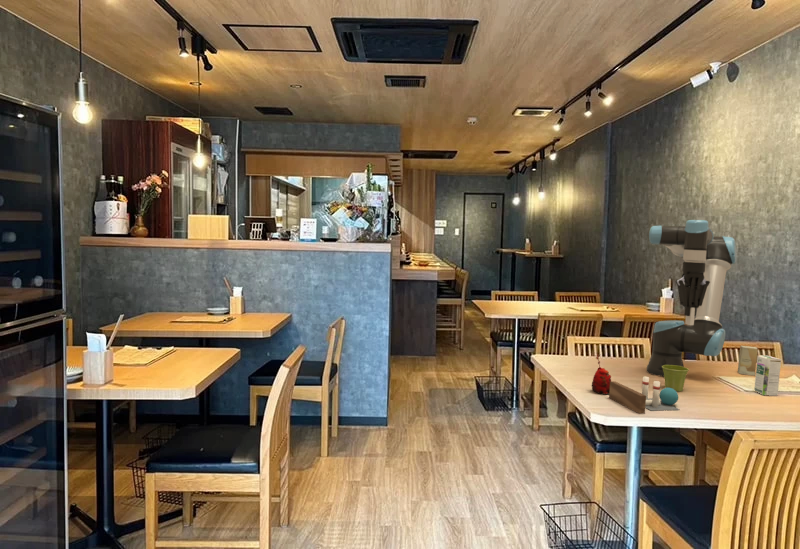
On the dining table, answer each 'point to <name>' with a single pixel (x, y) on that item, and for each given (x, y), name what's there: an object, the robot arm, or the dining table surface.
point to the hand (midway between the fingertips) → (689, 324)
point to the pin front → (649, 403)
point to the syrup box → (767, 375)
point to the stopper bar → (627, 397)
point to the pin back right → (645, 386)
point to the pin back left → (655, 394)
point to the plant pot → (674, 376)
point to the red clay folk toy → (601, 380)
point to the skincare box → (747, 360)
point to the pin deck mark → (661, 407)
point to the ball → (668, 396)
